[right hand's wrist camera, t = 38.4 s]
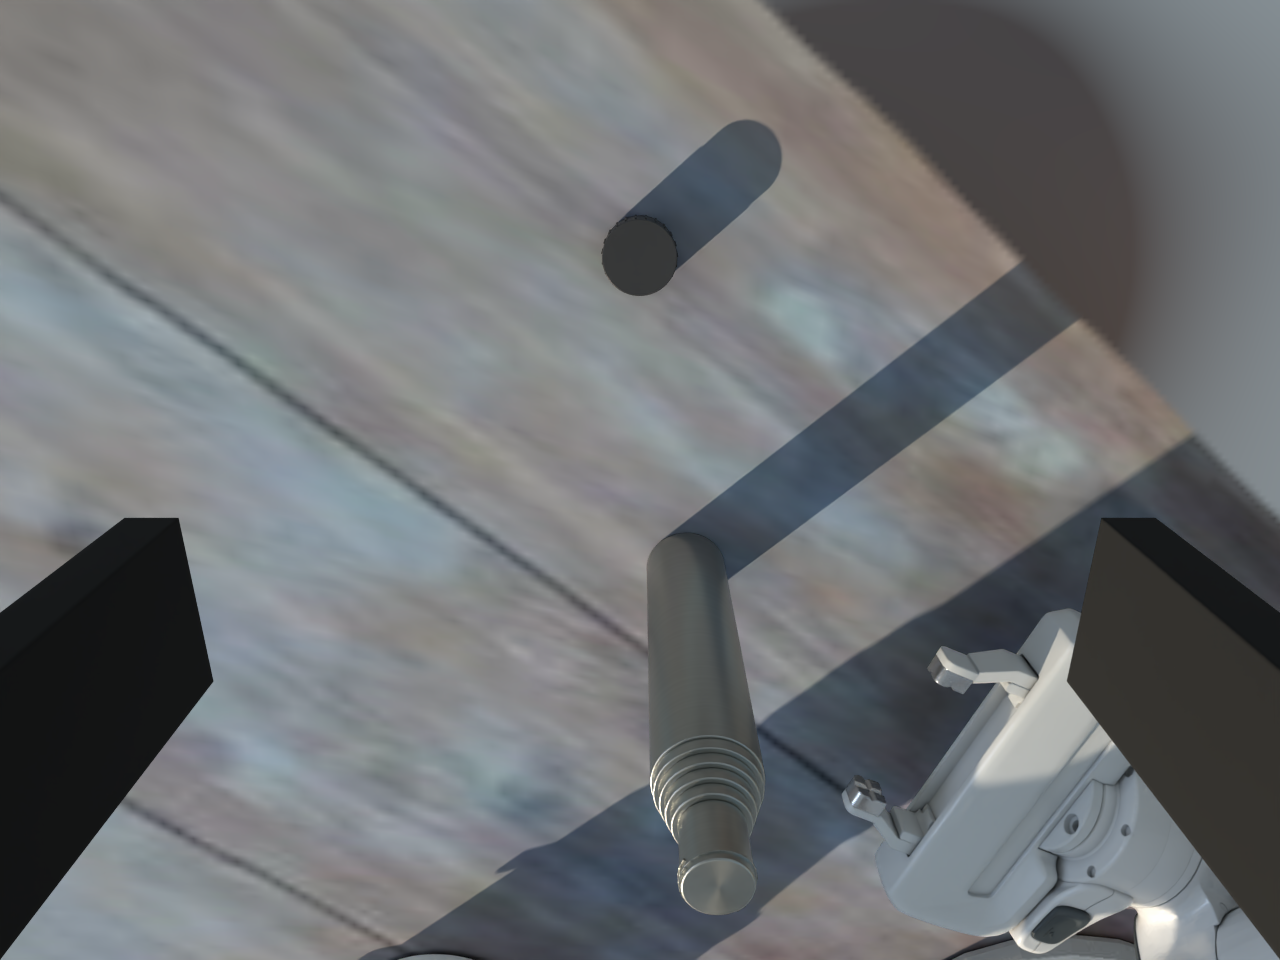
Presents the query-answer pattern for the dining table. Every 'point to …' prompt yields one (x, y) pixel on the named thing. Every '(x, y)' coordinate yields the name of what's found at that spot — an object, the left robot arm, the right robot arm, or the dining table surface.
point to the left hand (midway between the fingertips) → (891, 729)
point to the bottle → (701, 724)
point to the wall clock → (1059, 950)
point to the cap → (639, 255)
